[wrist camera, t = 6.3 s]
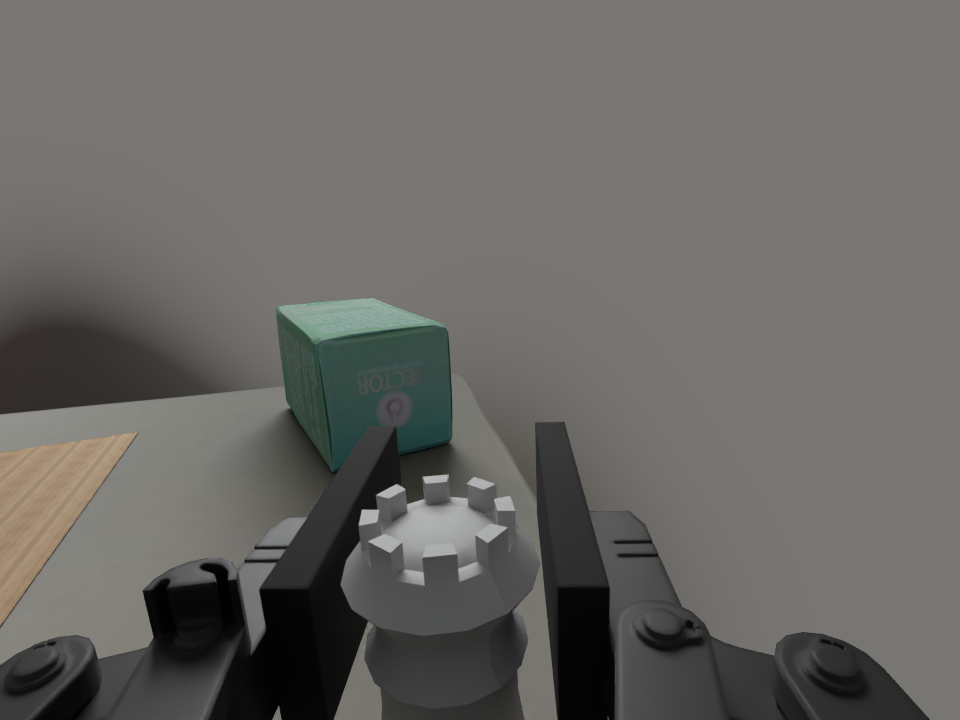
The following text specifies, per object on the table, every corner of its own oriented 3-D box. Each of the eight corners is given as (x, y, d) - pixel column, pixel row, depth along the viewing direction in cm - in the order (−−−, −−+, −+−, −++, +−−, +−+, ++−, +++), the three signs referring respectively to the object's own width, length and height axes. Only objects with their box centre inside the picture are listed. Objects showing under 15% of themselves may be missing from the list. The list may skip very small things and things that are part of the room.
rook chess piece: (624, 879, 10) (636, 511, 8) (436, 1124, 8) (386, 668, 6) (478, 723, 14) (461, 434, 12) (311, 856, 11) (252, 508, 9)
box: (331, 477, 28) (314, 335, 26) (284, 407, 39) (271, 305, 37) (458, 445, 31) (451, 318, 29) (381, 389, 43) (372, 295, 41)
